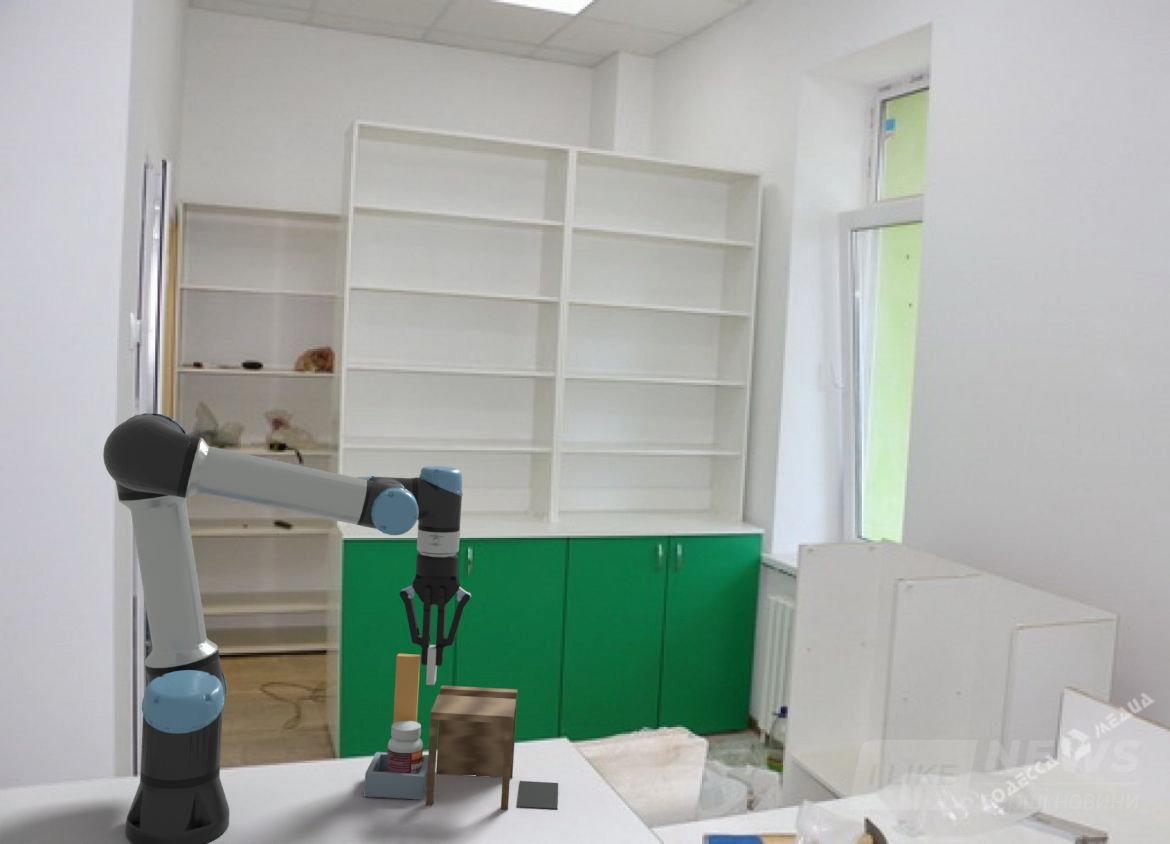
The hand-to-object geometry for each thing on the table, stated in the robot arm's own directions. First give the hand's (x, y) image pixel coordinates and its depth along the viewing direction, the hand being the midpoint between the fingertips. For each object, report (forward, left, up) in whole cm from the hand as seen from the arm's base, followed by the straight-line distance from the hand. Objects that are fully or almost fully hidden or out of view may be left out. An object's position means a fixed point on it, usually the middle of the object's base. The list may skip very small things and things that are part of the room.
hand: (431, 682), depth 186 cm
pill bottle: (-3, -4, -18) cm, 19 cm away
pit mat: (+21, -4, -18) cm, 28 cm away
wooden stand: (+8, -4, -18) cm, 20 cm away
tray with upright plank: (-4, -4, -18) cm, 19 cm away
